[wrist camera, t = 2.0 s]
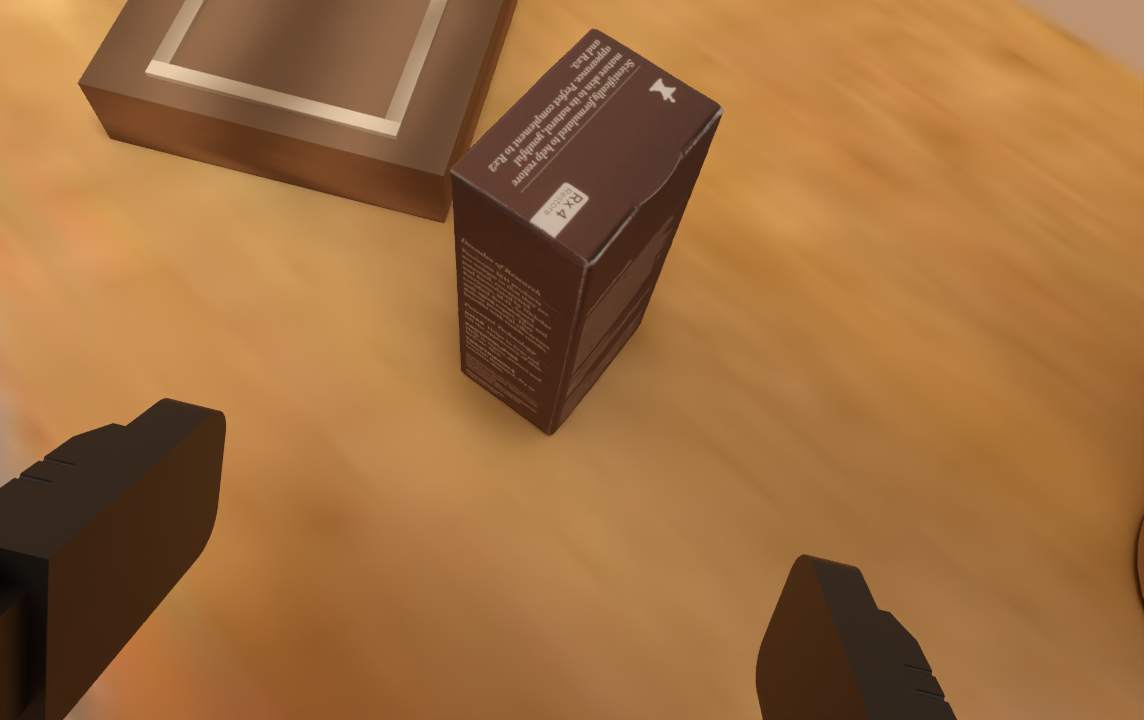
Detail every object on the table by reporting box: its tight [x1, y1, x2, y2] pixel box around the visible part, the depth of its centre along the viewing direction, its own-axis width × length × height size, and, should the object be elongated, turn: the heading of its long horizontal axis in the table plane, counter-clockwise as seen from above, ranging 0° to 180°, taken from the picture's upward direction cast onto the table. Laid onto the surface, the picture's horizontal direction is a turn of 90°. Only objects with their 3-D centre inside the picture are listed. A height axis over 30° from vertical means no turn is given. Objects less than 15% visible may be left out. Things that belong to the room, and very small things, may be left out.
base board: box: [78, 0, 517, 222], centre depth 33 cm, size 13×12×3 cm
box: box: [450, 29, 723, 435], centre depth 25 cm, size 6×4×12 cm
